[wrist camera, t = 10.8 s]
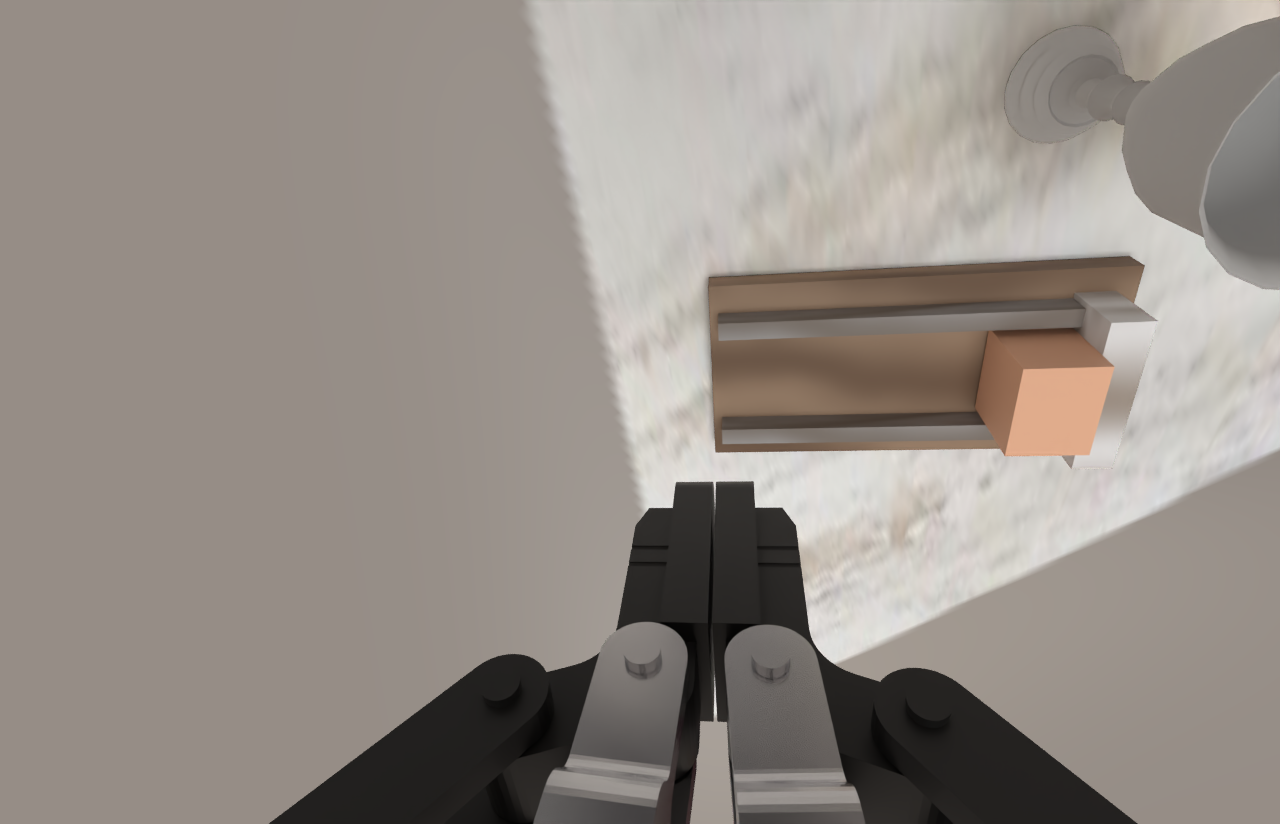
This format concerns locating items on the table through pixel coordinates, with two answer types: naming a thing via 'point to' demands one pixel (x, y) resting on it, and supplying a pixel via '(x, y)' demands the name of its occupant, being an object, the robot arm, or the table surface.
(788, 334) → the rail board
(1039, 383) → the orange-brown block
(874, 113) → the table surface
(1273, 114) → the chalice
